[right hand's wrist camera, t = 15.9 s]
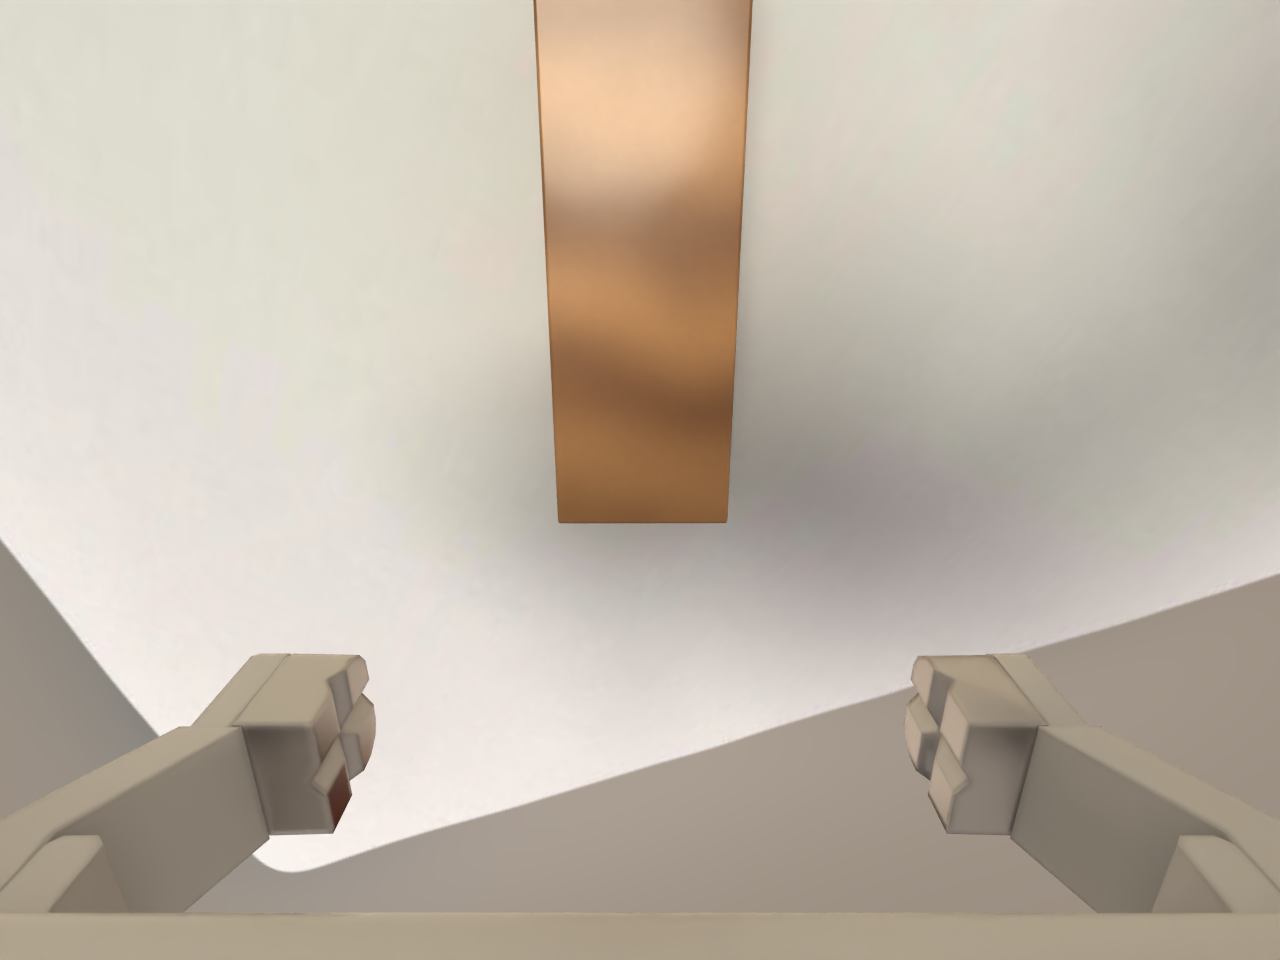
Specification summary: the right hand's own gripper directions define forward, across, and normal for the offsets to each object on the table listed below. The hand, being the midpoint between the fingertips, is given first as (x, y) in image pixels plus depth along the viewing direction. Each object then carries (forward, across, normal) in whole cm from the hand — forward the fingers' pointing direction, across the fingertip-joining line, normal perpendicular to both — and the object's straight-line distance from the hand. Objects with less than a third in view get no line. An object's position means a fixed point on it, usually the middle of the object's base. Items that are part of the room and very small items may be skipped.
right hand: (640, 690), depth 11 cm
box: (+27, 0, +6) cm, 28 cm away
